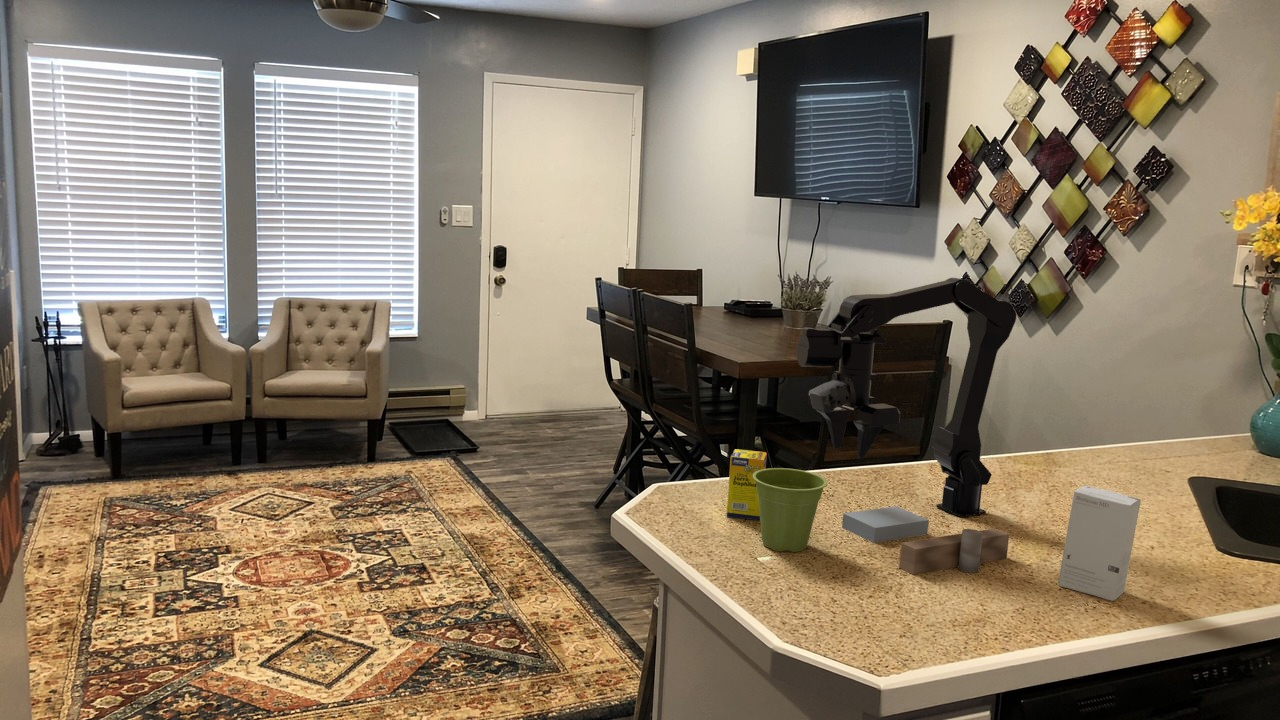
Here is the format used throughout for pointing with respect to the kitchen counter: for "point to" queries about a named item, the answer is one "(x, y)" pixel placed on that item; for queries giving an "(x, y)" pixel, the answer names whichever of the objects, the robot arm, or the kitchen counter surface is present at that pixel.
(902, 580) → the kitchen counter surface
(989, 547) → the walnut bar
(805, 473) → the plant pot
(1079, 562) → the skincare box
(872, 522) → the slate plate
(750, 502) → the supplement box
